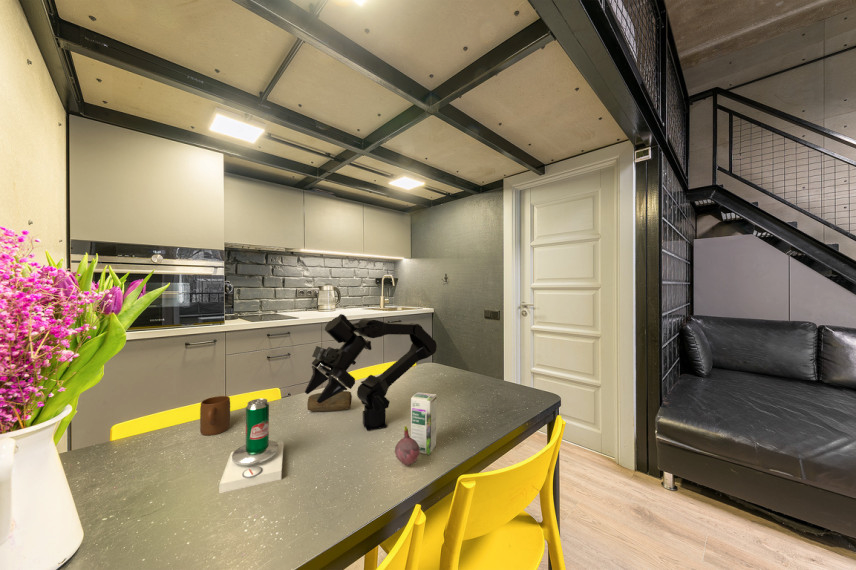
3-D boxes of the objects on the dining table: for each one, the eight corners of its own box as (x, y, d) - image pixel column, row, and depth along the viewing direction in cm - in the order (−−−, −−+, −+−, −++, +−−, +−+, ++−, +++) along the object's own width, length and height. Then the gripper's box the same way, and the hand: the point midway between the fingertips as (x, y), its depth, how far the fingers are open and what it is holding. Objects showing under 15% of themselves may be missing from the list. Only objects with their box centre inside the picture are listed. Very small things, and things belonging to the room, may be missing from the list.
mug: (225, 439, 88) (225, 407, 88) (193, 445, 85) (193, 411, 85) (231, 423, 99) (232, 394, 99) (203, 427, 96) (203, 397, 96)
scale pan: (279, 443, 82) (279, 437, 82) (277, 463, 73) (277, 456, 73) (235, 451, 78) (235, 444, 78) (228, 473, 69) (228, 465, 69)
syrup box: (409, 451, 82) (410, 397, 82) (418, 441, 88) (418, 390, 88) (429, 455, 80) (429, 400, 80) (436, 444, 86) (437, 393, 86)
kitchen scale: (283, 449, 83) (283, 440, 83) (281, 479, 70) (281, 469, 70) (231, 459, 78) (231, 450, 78) (219, 494, 65) (219, 482, 65)
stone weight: (351, 405, 115) (352, 387, 115) (351, 412, 108) (351, 393, 108) (309, 408, 112) (310, 390, 112) (306, 416, 105) (306, 396, 105)
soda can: (250, 457, 72) (250, 407, 72) (242, 450, 75) (242, 402, 75) (272, 449, 76) (272, 401, 76) (263, 442, 79) (264, 396, 79)
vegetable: (396, 458, 79) (396, 419, 79) (420, 459, 79) (420, 420, 79) (393, 472, 73) (393, 431, 73) (418, 473, 72) (418, 431, 73)
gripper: (318, 332, 95) (280, 373, 88) (344, 339, 81) (302, 390, 74) (341, 353, 100) (307, 394, 93) (370, 364, 86) (333, 414, 79)
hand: (311, 397), depth 85 cm, fingers open, 9 cm apart
